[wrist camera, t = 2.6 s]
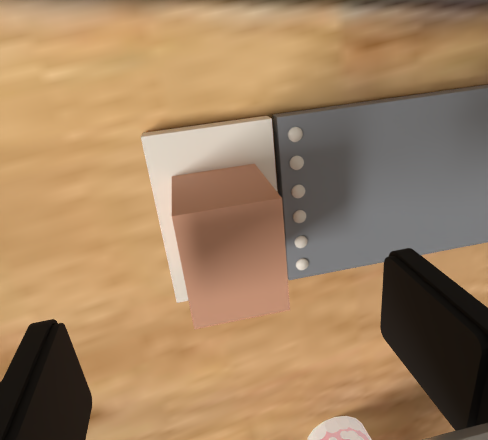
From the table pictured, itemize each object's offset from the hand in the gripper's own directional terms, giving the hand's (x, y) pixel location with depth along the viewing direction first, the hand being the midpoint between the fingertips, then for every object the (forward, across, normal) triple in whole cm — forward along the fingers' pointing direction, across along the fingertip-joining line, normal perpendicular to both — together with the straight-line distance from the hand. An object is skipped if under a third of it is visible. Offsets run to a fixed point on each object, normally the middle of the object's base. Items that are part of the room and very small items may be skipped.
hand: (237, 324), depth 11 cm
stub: (+10, -1, +1) cm, 10 cm away
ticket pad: (+10, -13, 0) cm, 16 cm away
